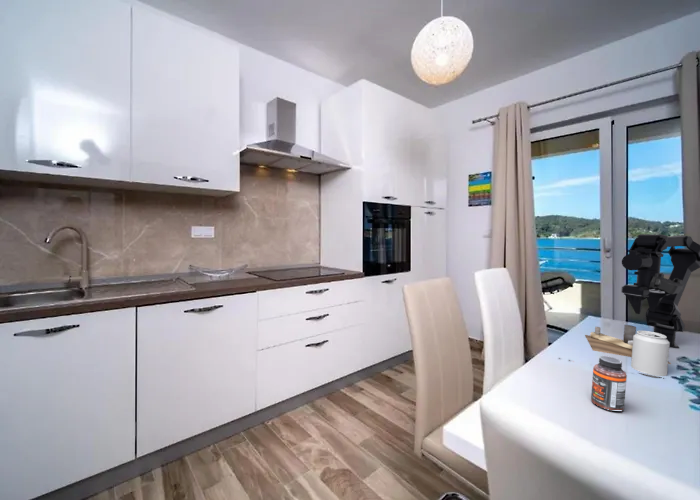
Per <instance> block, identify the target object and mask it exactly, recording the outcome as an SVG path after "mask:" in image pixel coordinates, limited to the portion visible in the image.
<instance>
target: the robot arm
mask: <svg viewBox="0 0 700 500" xmlns="http://www.w3.org/2000/svg"><path fill="white" fill-rule="evenodd" d="M676 247H678V248H676ZM679 247H686V248H679ZM668 248H669V249H668ZM667 249H668V252H667V253H668V254H669V257H670V262H671V265H672V266H673V267H672V270H671V272H670V275H669V277H668V278H665V277H664V276H665V275H664V273H663V272H661V265H662V263H661V262H662V258H663V257H664V254H663V251H665V250H667ZM621 265H622V267H623V268H624V269H626V270H628V271H634V273H633V275H636V282H633V284H624V285H623V286H621V293H622V294H623V295H624V296H625V297H626V299H627V300H628V302H629V303H630V306H631V307H632V310H633V311H634V312H635V314H637V315H640V314H641V313H642V312H641V311H642V308H643V303H644V301H645V300H646V301H647V304H648V309H647V310H646V311H645V318H646V321H645V322H646V325H647V326H651V327H653V332H655V333H659V334H662V335H665V336H666V337H667V338H666V339H667V340H668V341H669V343H670V345H669V348H670V347H671V348H677V349H679V348H680V346H679V345H677V344H676V335H677V333H678V332H679V333H684V330H685V327H686V324H685V323H684V321H683V319H682V317H681V315H682V314H681V310H680V309H679V306H678V305H679V304H680V301H681V298H682V296H683V293H684V292H685V288H686V286H687V284H688V281H689V279H690V276H691V275H692V274H691V273H693V272H694V271H697V270H698V269H700V244H699V243H697V242H696V241H694V239H693V238H692V236H689V235H677V234H676V235H670V236H668V235H665V234H658V233H657V234H652V233H651V234H650V233H649V234H648V233H647V234H643V233H642V234H641V233H640V234H638V235H637V236H636V238H634V241H633V243H632V245H631V246H630V248H629V250H628V253H627V254H626V255H624V256H623V258H622V259H621Z"/></svg>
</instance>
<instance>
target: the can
mask: <svg viewBox="0 0 700 500" xmlns="http://www.w3.org/2000/svg"><path fill="white" fill-rule="evenodd" d="M666 338H667V337H666V336H665V335H662V334H659V333H655V332H654V331H648V330H636V334H635V335H634V336H633V347H632V357H631V362H630V366H631V369H633V370H636V371H638V374H639V375H641V376H645V377H647V378H653V379H662V378H663V377H666V376H668V370H669V368H668V365H669V364H668V361H669V357H670V347H669V345H670V343H669V341H668V340H667V339H666Z"/></svg>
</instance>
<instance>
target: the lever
mask: <svg viewBox="0 0 700 500" xmlns="http://www.w3.org/2000/svg"><path fill="white" fill-rule="evenodd" d="M601 328H602V327H600V326H595V328H594V331H591V332H590V335H589V336H590V337H592V338H595V339H599V340H603V341H606V342H609V343H612V344H616V345H619V346H622V347H625V348H629V349H632V347H633V346H631V345H628V341H632V340H633V336H634V335H635V334H637V327H636V326H635V325H631V324H624V328H623V339H621V338H618V337H614V336H611V335H607V334H604V333H601Z"/></svg>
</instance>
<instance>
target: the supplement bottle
mask: <svg viewBox="0 0 700 500" xmlns="http://www.w3.org/2000/svg"><path fill="white" fill-rule="evenodd" d="M622 367H623V362H622V361H621V360H620V359H619V358H616V357H612V356H608V355H607V356H606V355H602V356H601V355H600V356H599V358H598V363H597V364H594V366H593V369H592V370H593V371H592V380H591V381H592V384H591V393H590V400H591V402H592V403H593V404H594V405H595V404H596V405H597V406H596V405H595V406H596V407H598V406H600V407H602V408H605V409H609V410H623V409H624V410H625V402H626V401H625V400H626V392H627V391H626V388H627V377H628V375H627V373H626V371H625V370H623V368H622ZM600 407H599V408H600ZM602 408H601V409H602ZM624 410H623V411H624Z"/></svg>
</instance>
